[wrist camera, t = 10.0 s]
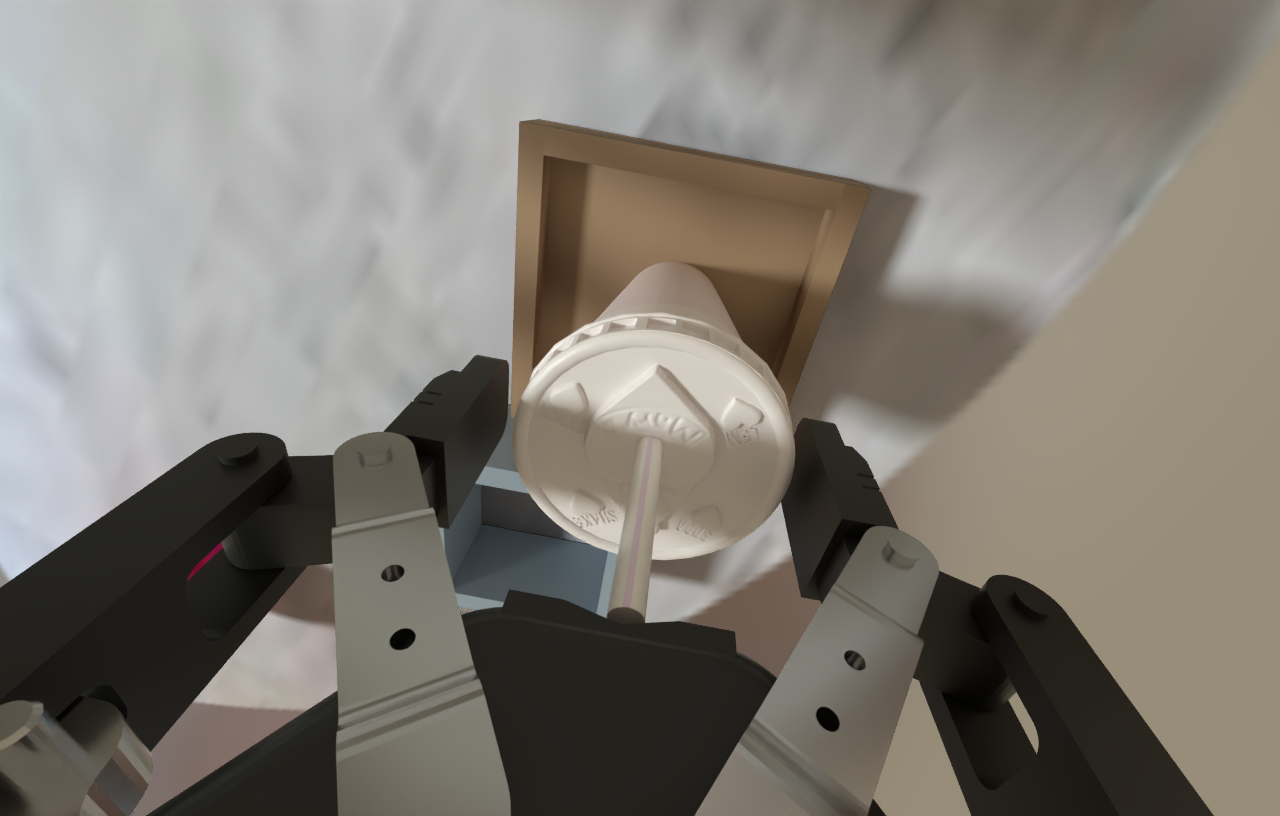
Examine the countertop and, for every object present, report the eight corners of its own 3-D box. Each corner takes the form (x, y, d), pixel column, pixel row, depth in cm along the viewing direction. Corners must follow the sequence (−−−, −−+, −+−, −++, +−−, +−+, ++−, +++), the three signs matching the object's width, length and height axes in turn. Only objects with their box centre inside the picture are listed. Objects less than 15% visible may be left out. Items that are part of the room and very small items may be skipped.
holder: (459, 395, 24) (413, 452, 20) (652, 432, 24) (644, 496, 20) (464, 533, 28) (428, 600, 25) (624, 563, 28) (613, 635, 25)
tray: (538, 119, 17) (519, 121, 15) (852, 179, 17) (871, 189, 15) (525, 391, 23) (510, 417, 21) (760, 436, 23) (766, 465, 21)
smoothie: (771, 230, 17) (920, 505, 6) (741, 390, 21) (795, 774, 9) (588, 216, 18) (365, 445, 6) (588, 375, 21) (446, 725, 9)
